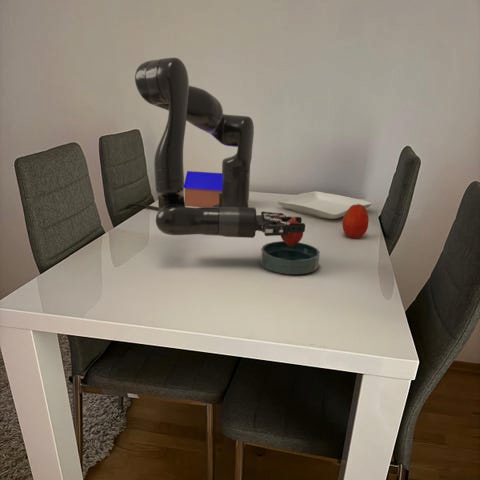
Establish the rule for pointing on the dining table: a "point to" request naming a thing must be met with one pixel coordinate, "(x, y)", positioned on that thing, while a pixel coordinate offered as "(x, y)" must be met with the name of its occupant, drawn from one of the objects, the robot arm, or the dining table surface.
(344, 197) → the square plate
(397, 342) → the dining table surface
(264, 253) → the bowl
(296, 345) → the dining table surface
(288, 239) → the red lemon
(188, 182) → the house
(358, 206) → the red egg
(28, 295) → the dining table surface
